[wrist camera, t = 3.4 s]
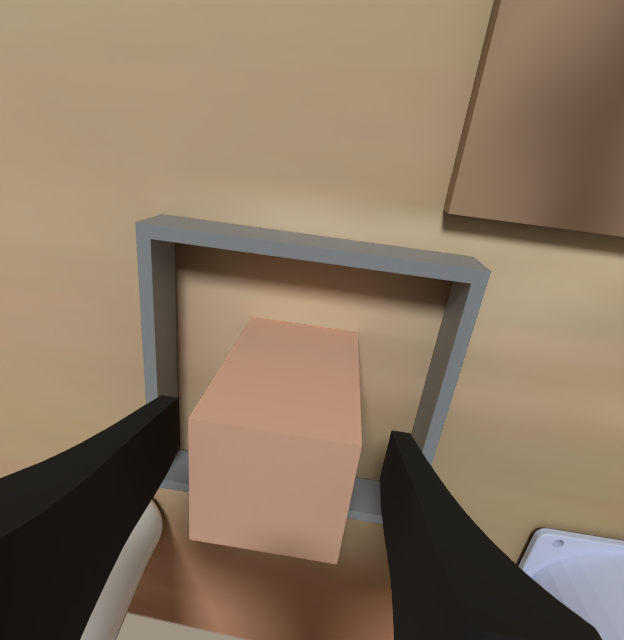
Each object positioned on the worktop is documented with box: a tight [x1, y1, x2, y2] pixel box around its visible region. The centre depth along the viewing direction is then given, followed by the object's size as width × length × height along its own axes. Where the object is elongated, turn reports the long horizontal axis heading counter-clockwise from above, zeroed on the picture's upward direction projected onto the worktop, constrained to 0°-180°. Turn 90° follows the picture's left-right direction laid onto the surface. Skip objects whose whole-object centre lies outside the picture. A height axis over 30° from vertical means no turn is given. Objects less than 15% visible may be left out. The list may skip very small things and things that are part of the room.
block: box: [188, 317, 362, 564], centre depth 14 cm, size 4×4×7 cm
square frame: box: [135, 215, 491, 524], centre depth 16 cm, size 12×12×2 cm
